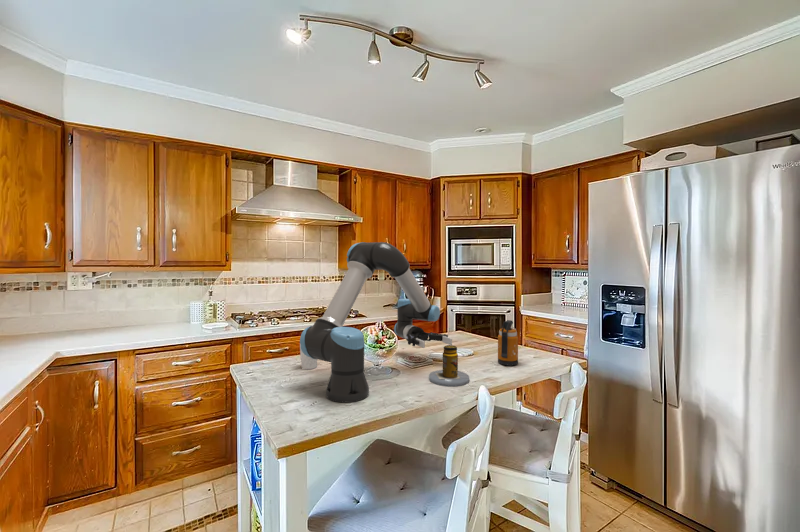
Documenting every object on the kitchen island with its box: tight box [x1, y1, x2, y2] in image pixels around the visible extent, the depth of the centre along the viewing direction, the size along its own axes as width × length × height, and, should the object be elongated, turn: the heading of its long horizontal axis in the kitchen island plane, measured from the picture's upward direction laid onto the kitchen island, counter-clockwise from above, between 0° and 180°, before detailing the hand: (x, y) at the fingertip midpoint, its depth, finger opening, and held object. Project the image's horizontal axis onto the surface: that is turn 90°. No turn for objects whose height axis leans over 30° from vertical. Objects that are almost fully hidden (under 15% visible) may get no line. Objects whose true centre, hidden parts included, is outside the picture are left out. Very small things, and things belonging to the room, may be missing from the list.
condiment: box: [436, 344, 460, 379], centre depth 150 cm, size 7×8×12 cm
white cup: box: [299, 344, 318, 370], centre depth 167 cm, size 8×8×10 cm
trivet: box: [428, 369, 470, 387], centre depth 151 cm, size 16×16×2 cm
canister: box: [497, 319, 519, 367], centre depth 172 cm, size 9×11×20 cm
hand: (438, 343), depth 159 cm, fingers open, 13 cm apart
